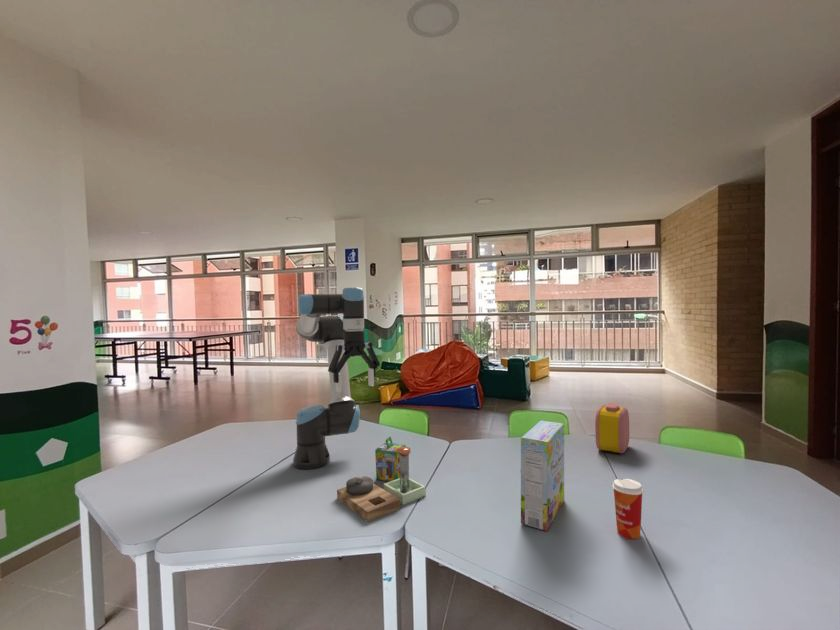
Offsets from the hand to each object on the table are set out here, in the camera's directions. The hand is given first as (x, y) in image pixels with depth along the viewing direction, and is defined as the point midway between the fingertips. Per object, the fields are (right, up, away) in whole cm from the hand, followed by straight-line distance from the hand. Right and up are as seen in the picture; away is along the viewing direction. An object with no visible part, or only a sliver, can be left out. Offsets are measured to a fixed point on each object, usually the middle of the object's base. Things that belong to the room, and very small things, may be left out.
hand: (355, 388), depth 143 cm
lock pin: (+18, -35, -7) cm, 40 cm away
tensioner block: (+6, -36, -12) cm, 38 cm away
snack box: (+62, -35, -21) cm, 74 cm away
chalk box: (+13, -36, +8) cm, 39 cm away
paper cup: (+81, -34, -34) cm, 94 cm away
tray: (+18, -35, -6) cm, 40 cm away
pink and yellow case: (+109, -33, +31) cm, 118 cm away
